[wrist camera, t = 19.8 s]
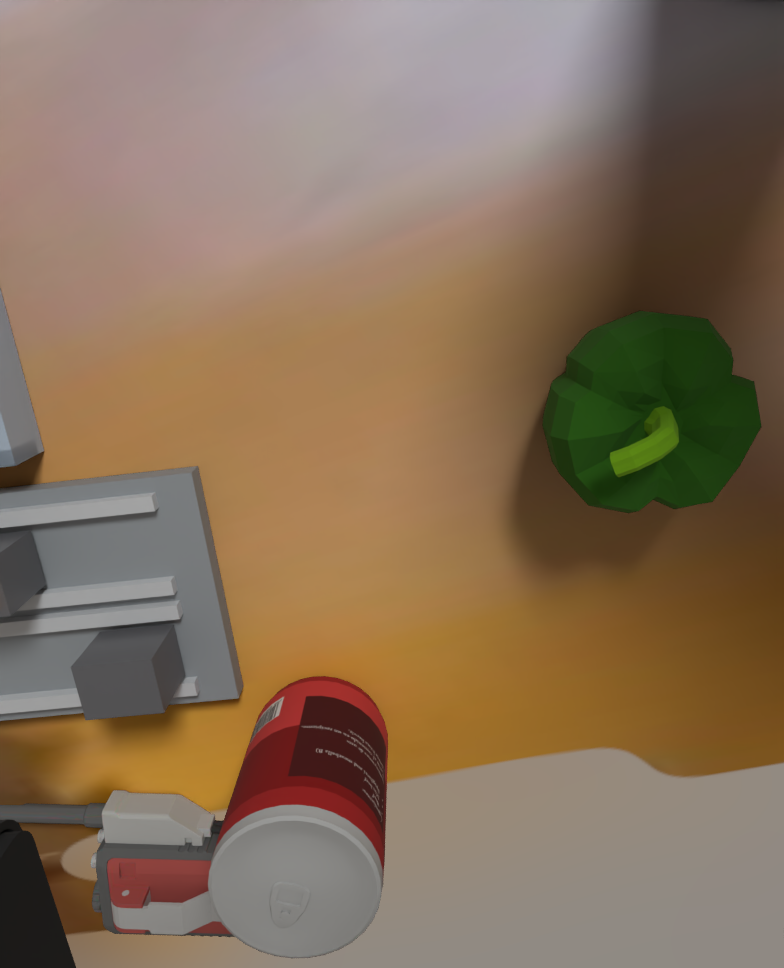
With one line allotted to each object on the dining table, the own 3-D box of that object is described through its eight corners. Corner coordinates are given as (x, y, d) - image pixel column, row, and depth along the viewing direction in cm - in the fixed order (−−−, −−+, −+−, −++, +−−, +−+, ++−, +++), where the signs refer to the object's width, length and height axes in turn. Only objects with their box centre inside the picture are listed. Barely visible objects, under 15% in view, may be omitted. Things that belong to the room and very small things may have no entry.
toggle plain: (100, 631, 38) (70, 667, 35) (173, 624, 38) (151, 659, 35) (113, 680, 39) (85, 720, 36) (185, 673, 39) (164, 712, 35)
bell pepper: (700, 297, 34) (816, 311, 24) (692, 464, 36) (794, 537, 27) (522, 311, 34) (567, 330, 25) (526, 475, 37) (568, 551, 27)
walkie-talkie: (316, 789, 43) (-15, 780, 43) (306, 847, 39) (-60, 836, 39) (318, 904, 46) (6, 894, 46) (309, 969, 42) (-35, 958, 42)
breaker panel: (-101, 499, 38) (-125, 510, 36) (197, 466, 37) (187, 476, 35) (-29, 711, 42) (-48, 731, 40) (243, 685, 41) (236, 704, 39)
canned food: (261, 789, 43) (213, 961, 32) (251, 671, 40) (197, 815, 30) (389, 789, 43) (384, 961, 32) (387, 670, 40) (381, 815, 30)
